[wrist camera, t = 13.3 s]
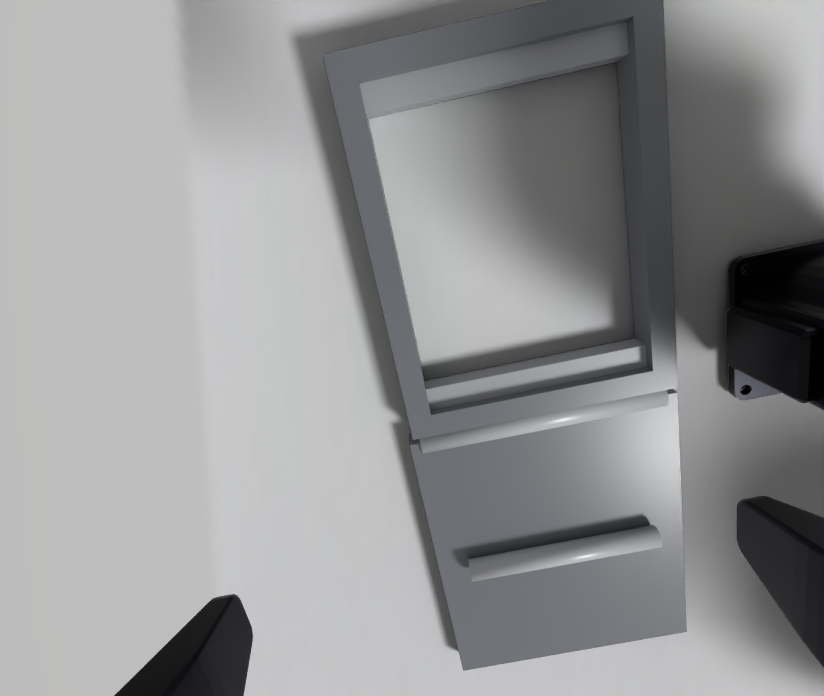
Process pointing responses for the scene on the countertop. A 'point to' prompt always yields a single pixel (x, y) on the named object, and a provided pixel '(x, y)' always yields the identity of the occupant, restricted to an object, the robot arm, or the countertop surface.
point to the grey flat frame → (541, 362)
